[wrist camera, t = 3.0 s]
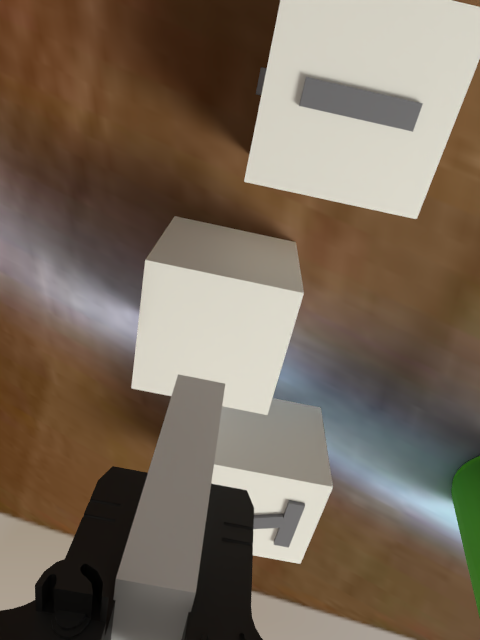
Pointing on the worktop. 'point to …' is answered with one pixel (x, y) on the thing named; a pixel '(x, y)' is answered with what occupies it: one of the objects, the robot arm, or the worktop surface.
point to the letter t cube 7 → (277, 473)
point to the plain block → (217, 311)
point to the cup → (469, 517)
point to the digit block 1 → (362, 98)
